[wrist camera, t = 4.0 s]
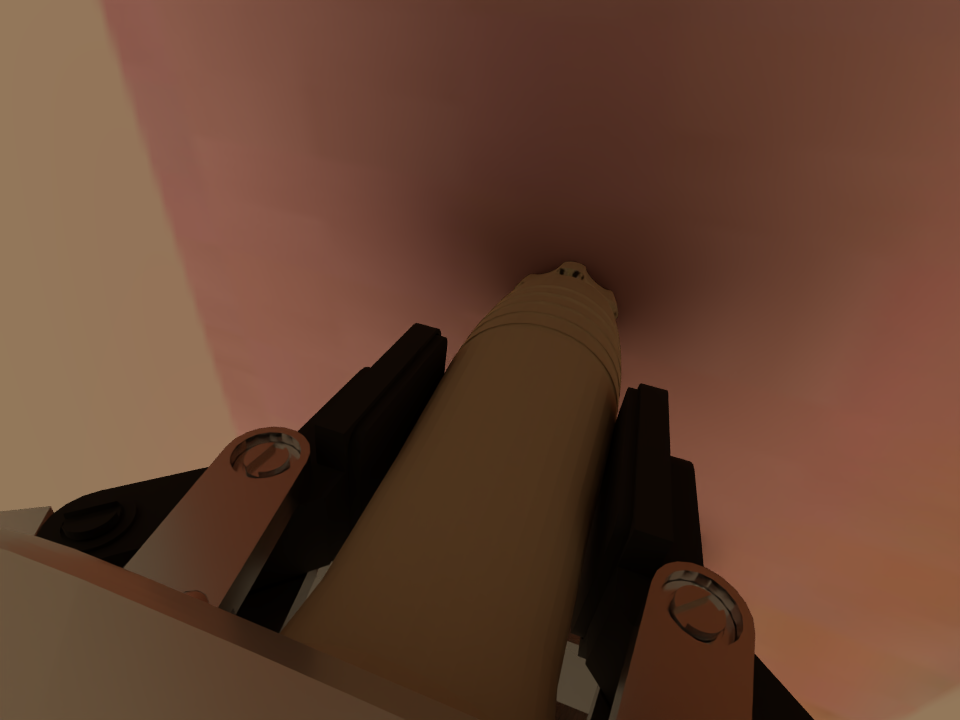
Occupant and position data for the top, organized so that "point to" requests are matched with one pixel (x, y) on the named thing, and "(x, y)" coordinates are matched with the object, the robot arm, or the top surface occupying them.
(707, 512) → the top surface
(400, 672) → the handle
